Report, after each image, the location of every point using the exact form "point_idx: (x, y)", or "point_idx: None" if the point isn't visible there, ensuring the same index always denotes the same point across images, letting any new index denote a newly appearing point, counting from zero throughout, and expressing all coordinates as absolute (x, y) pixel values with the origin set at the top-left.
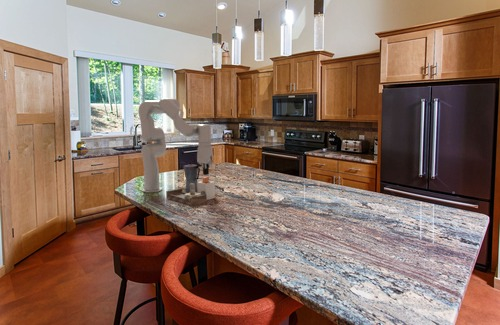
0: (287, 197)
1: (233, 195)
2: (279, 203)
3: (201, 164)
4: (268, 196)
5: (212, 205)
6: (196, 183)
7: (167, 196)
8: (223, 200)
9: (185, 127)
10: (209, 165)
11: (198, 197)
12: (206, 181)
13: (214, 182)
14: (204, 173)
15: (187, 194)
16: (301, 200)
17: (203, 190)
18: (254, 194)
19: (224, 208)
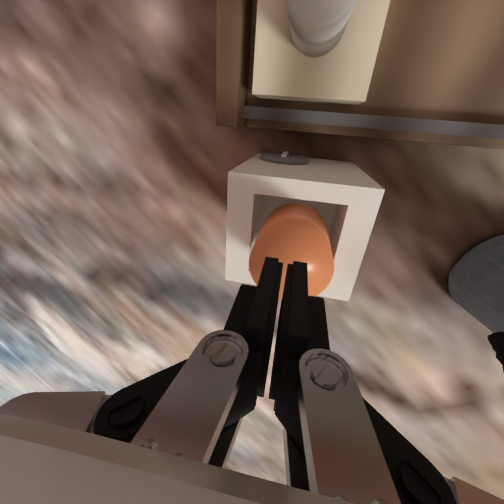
0: (53, 353)
1: (208, 304)
2: (4, 286)
3: (426, 487)
4: (99, 342)
5: (139, 77)
6: (497, 319)
7: None
8: (176, 208)
9: None
10: (64, 404)
11: (220, 12)
12: (263, 226)
13: (226, 276)
14: (270, 266)
15: None
16: (4, 340)
17: (279, 164)
18: (154, 347)
19: (46, 76)
